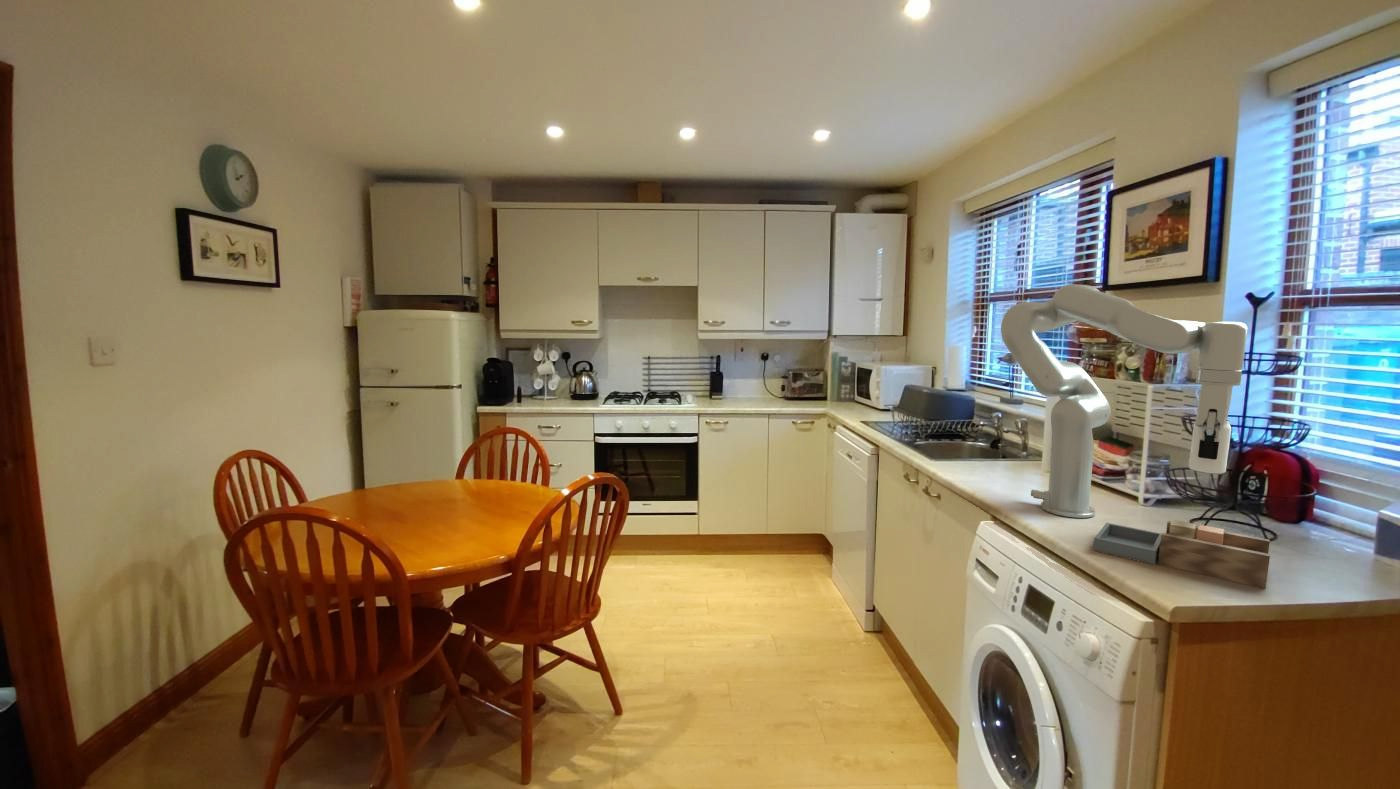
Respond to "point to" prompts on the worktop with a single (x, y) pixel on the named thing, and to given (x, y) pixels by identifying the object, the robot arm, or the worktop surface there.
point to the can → (1221, 462)
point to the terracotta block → (1210, 534)
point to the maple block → (1182, 529)
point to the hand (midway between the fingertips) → (1208, 455)
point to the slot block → (1218, 556)
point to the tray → (1128, 542)
